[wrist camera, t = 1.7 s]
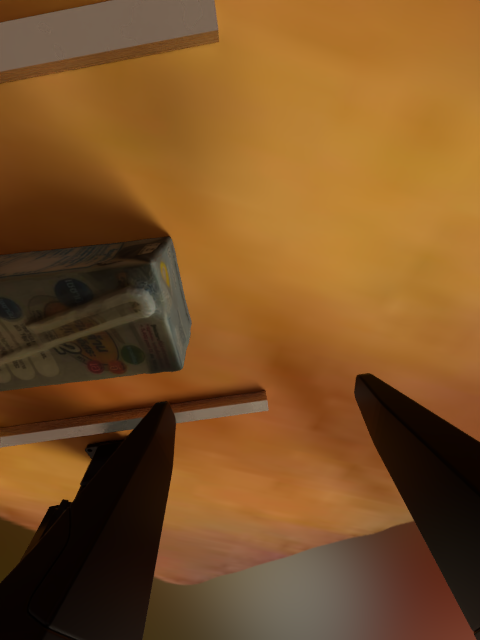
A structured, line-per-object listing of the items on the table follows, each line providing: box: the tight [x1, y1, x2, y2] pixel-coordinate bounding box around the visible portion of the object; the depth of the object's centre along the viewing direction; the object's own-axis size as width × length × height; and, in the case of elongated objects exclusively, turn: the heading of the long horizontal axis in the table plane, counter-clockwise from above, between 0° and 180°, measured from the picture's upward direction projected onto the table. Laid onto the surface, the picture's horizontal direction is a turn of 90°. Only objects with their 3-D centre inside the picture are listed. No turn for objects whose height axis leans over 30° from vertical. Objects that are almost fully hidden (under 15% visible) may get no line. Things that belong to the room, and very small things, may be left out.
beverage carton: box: [0, 236, 192, 391], centre depth 17 cm, size 8×19×7 cm, turn 96°
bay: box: [0, 0, 268, 447], centre depth 18 cm, size 28×31×3 cm
